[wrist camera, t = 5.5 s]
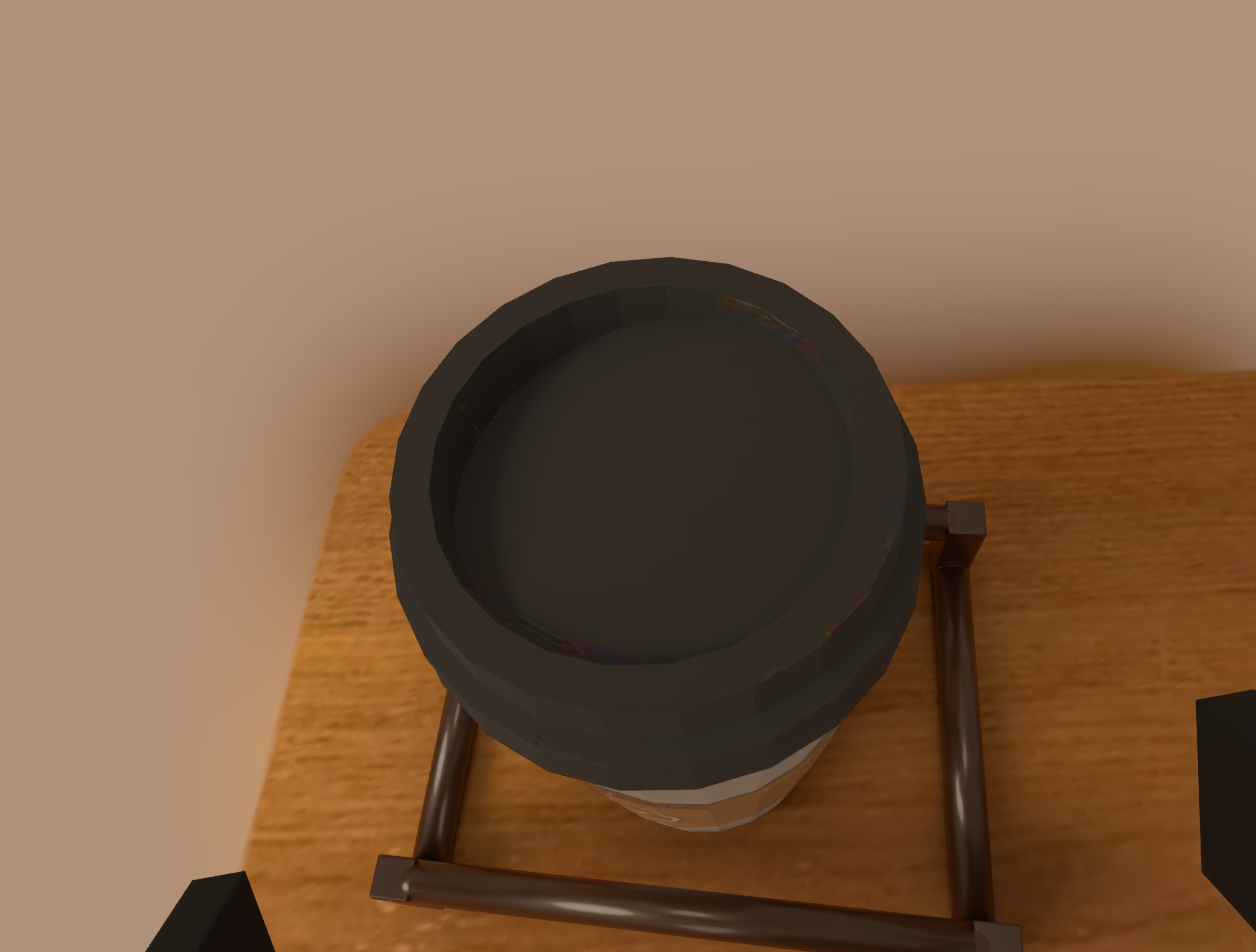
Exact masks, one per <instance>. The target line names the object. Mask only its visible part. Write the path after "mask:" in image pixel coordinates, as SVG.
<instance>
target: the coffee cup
mask: <svg viewBox="0 0 1256 952" xmlns="http://www.w3.org/2000/svg"><path fill="white" fill-rule="evenodd" d="M389 500H390V508H391V515H392V519H391V526H390V532H389V537H390V544H391V552H392V560H393V567H394V575H395V582H396V590H397V597H398V599H399V601H400V603H401V605H402V608H403V610H404V612H405V614H406V616H407V618H408V621H409V623H410V625H411V627H412V629H413V632H414V634H415V636H416V638H417V640H418V643H419V645H420V647H421V649H422V651H423V654H424V656H425V657H426V659H427V660H428V661H429V663H430V664H431V665H432V666H433V667H434V668H435V670H436V672H437V674H438V676H439V678H440V681H441V683H442V684H443V686H444V687H445V688H446V689H447V690H448V691H449V692H450V693H451V695H452V696H453V697H454V698H455V699H456V700H457V701H458V702H459V704H460V705H461V706H462V707H463V708H464V709H465V710H466V711H467V713H468V714H469V715H470V716H471V717H472V718H473V719H474V720H475V722H476V723H477V724H478V725H479V726H480V727H481V728H482V729H483V731H484V732H485V733H486V734H488V735H489V736H491V737H492V738H494V739H496V740H497V741H499V742H501V743H502V744H504V745H505V746H507V747H509V748H510V749H512V750H514V751H515V752H517V753H518V754H520V755H522V756H523V757H525V758H527V759H528V760H530V761H531V762H533V763H535V764H536V765H538V766H540V767H541V768H543V769H544V770H546V771H549V772H552V773H556V774H560V775H563V776H567V777H571V778H574V779H578V780H579V781H581V782H582V783H584V784H586V785H587V786H589V787H591V788H592V789H594V790H596V791H597V792H599V793H601V794H602V795H604V796H606V797H608V798H609V799H611V800H613V801H615V802H616V803H618V804H620V805H621V806H623V807H625V808H627V809H628V810H630V811H632V812H634V813H635V814H637V815H639V816H640V817H642V818H644V819H648V820H652V821H656V822H657V823H660V824H663V825H667V826H670V827H674V828H677V829H681V830H684V831H688V832H710V831H723V830H727V829H730V828H733V827H737V826H740V825H744V824H747V823H750V822H752V821H754V820H755V819H757V818H758V817H760V816H761V815H763V814H765V813H766V812H768V811H769V810H771V809H772V808H774V807H776V806H777V805H778V804H779V803H780V802H781V801H782V800H783V798H784V797H785V796H786V795H787V794H788V793H789V792H790V791H791V790H792V789H793V788H794V787H795V785H796V784H797V783H798V782H799V781H800V780H801V779H802V777H803V776H804V775H805V774H806V773H807V772H808V771H809V770H810V768H811V767H812V766H813V765H814V764H815V762H816V761H817V759H818V758H819V756H820V755H821V753H822V752H823V750H824V749H825V747H826V746H827V744H828V743H829V741H830V740H831V739H832V737H833V736H834V734H835V733H836V731H837V730H838V728H839V726H840V724H841V722H842V720H843V719H844V718H845V717H846V716H847V715H848V714H849V712H850V711H851V710H852V709H853V708H854V707H855V706H856V705H857V703H858V702H859V701H860V700H861V699H862V698H863V697H864V696H865V694H866V693H867V692H868V691H869V690H870V689H871V688H872V687H873V685H874V684H875V683H876V682H877V681H878V680H879V679H880V678H881V676H882V675H883V674H884V673H885V672H886V670H887V668H888V666H889V663H890V661H891V659H892V657H893V655H894V653H895V650H896V648H897V646H898V644H899V642H900V640H901V638H902V635H903V633H904V631H905V629H906V627H907V625H908V623H909V620H910V618H911V616H912V614H913V612H914V610H915V605H916V598H917V590H918V583H919V576H920V568H921V561H922V554H923V547H924V540H923V535H924V528H925V521H926V513H927V505H926V499H925V493H924V487H923V481H922V475H921V470H920V464H919V458H918V452H917V446H916V443H915V441H914V439H913V437H912V435H911V433H910V431H909V429H908V427H907V425H906V423H905V421H904V419H903V417H902V415H901V413H900V411H899V409H898V407H897V405H896V403H895V401H894V399H893V397H892V395H891V393H890V391H889V389H888V387H887V385H886V384H885V382H884V379H883V377H882V375H881V374H880V372H879V370H878V368H877V365H876V363H875V361H874V359H873V357H872V356H871V355H870V354H869V353H868V352H867V351H866V350H865V349H864V348H863V346H862V345H861V344H860V343H859V342H858V341H857V340H856V339H855V338H854V337H853V336H852V335H851V333H850V332H849V331H848V330H847V329H846V328H845V327H844V326H843V325H842V324H841V323H840V322H839V320H838V319H837V318H836V317H835V316H834V315H833V314H831V313H830V312H828V311H827V310H825V309H824V308H822V307H820V306H819V305H817V304H816V303H814V302H813V301H811V300H809V299H808V298H806V297H805V296H803V295H802V294H800V293H798V292H797V291H795V290H794V289H792V288H791V287H789V286H788V285H786V284H784V283H782V282H779V281H776V280H773V279H770V278H767V277H764V276H762V275H759V274H756V273H753V272H750V271H747V270H744V269H741V268H739V267H736V266H733V265H730V264H724V263H715V262H707V261H699V260H691V259H682V258H674V257H665V258H654V259H641V260H629V261H617V262H609V263H606V264H603V265H599V266H595V267H592V268H589V269H585V270H582V271H578V272H575V273H571V274H568V275H564V276H561V277H557V278H554V279H552V280H550V281H548V282H547V283H545V284H543V285H541V286H539V287H537V288H535V289H533V290H531V291H529V292H527V293H525V294H524V295H522V296H519V297H518V298H516V299H514V300H512V301H510V302H508V303H506V304H504V305H502V306H501V307H500V308H499V309H497V310H496V311H495V312H494V313H492V314H491V315H490V316H489V317H488V318H486V319H485V320H484V321H483V322H482V323H480V324H479V325H478V326H477V327H475V328H474V329H473V330H472V331H470V332H469V333H468V334H467V335H466V336H464V337H463V338H462V339H461V340H459V341H458V342H457V343H456V344H455V346H454V347H453V348H452V350H451V351H450V352H449V353H448V355H447V356H446V357H445V359H444V360H443V361H442V362H441V364H440V365H439V366H438V368H437V369H436V370H435V371H434V373H433V374H432V375H431V376H430V378H429V379H428V380H427V382H426V383H425V384H424V385H423V387H422V388H421V390H420V393H419V395H418V397H417V399H416V401H415V404H414V406H413V408H412V410H411V412H410V415H409V417H408V419H407V421H406V424H405V426H404V428H403V430H402V432H401V435H400V437H399V439H398V444H397V450H396V456H395V463H394V469H393V475H392V482H391V488H390V494H389Z"/></svg>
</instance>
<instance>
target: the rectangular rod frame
mask: <svg viewBox="0 0 1256 952" xmlns="http://www.w3.org/2000/svg"><path fill="white" fill-rule="evenodd" d="M926 505H927V513H926V521H925V528H924V535H923V540H931V543H930V545H929V553H930V572H931V575H933V581H934V599H935V618H936V636H937V654H938V672H939V691H940V709H941V727H942V745H943V764H944V782H945V800H946V819H947V837H948V855H949V873H950V892H951V910H952V919H949V918H941V917H932V916H923V915H914V914H905V913H896V912H887V911H878V910H869V909H860V908H851V907H842V906H833V905H824V904H815V903H806V902H797V901H788V900H779V899H770V898H761V897H752V896H743V895H734V894H725V893H716V892H707V891H698V890H689V889H680V888H671V887H662V886H653V885H644V884H635V883H626V882H618V881H609V880H600V879H591V878H582V877H573V876H564V875H555V874H546V873H537V872H528V871H519V870H510V869H501V868H492V867H483V866H474V865H465V864H456V863H449V861H450V856H451V851H452V845H453V840H454V835H455V829H456V824H457V819H458V813H459V808H460V803H461V797H462V792H463V787H464V781H465V776H466V771H467V766H468V760H469V755H470V750H471V744H472V739H473V734H474V728H475V723H476V722H475V720H474V719H473V718H472V717H471V716H470V715H469V714H468V713H467V711H466V710H465V709H464V708H463V707H462V706H461V705H460V704H459V702H458V701H457V700H456V699H455V698H454V697H453V696H452V695H451V693H450V692H449V691H448V690H447V692H446V697H445V702H444V707H443V711H442V716H441V721H440V726H439V731H438V736H437V740H436V745H435V750H434V755H433V760H432V765H431V770H430V774H429V779H428V784H427V789H426V794H425V799H424V803H423V808H422V813H421V818H420V823H419V828H418V832H417V837H416V842H415V847H414V852H413V857H412V858H410V857H401V856H392V855H383V854H381V855H379V856H378V860H377V864H376V868H375V873H374V877H373V882H372V886H371V891H370V898H371V899H376V900H382V901H387V902H393V903H398V904H404V905H410V906H417V907H425V908H433V909H441V910H442V909H444V908H450V909H459V910H467V911H475V912H484V913H492V914H500V915H509V916H517V917H525V918H533V919H542V920H550V921H558V922H567V923H575V924H583V925H592V926H600V927H608V928H616V929H625V930H633V931H641V932H650V933H658V934H666V935H675V936H683V937H691V938H699V939H708V940H716V941H724V942H733V943H741V944H749V945H758V946H766V947H774V948H782V949H791V950H799V951H807V952H1023V943H1022V931H1021V926H1019V925H1013V924H1004V923H996V920H995V907H994V894H993V880H992V867H991V854H990V841H989V827H988V814H987V801H986V787H985V774H984V761H983V748H982V734H981V721H980V708H979V694H978V681H977V668H976V655H975V641H974V628H973V615H972V601H971V588H970V575H969V568H970V566H971V564H972V562H973V560H974V558H975V556H976V554H977V552H978V550H979V548H980V546H981V544H982V542H983V540H984V539H985V537H986V535H987V530H986V519H985V507H984V503H983V502H960V501H947V502H946V504H945V505H938V504H926Z"/></svg>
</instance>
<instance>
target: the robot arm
mask: <svg viewBox="0 0 1256 952" xmlns="http://www.w3.org/2000/svg"><path fill="white" fill-rule="evenodd" d="M1196 720H1197V749H1198V778H1199V807H1200V836H1201V865H1202V873H1203V874H1204V875H1205V876H1206V877H1207V878H1208V880H1209V881H1210V882H1211V883H1212V884H1213V885H1214V886H1215V887H1216V888H1217V889H1218V891H1219V892H1220V893H1221V894H1222V895H1223V896H1224V897H1225V898H1226V899H1227V900H1228V902H1229V903H1230V904H1231V905H1232V906H1233V907H1234V908H1235V909H1236V910H1237V911H1238V913H1239V914H1240V915H1241V916H1242V917H1243V918H1244V919H1245V920H1246V921H1247V923H1248V924H1249V925H1250V926H1251V927H1252V928H1253V929H1254V930H1255V931H1256V690H1248V691H1243V692H1237V693H1232V694H1226V695H1221V696H1215V697H1209V698H1204V699H1198V700H1196ZM145 952H275V950H274V947H273V945H272V942H271V939H270V936H269V934H268V931H267V928H266V926H265V923H264V920H263V918H262V915H261V912H260V910H259V907H258V904H257V902H256V899H255V896H254V894H253V891H252V888H251V886H250V883H249V880H248V878H247V875H246V872H245V871H242V872H236V873H230V874H225V875H219V876H214V877H208V878H203V879H197V880H192V881H191V883H190V885H189V886H188V888H187V889H186V891H185V892H184V894H183V895H182V897H181V898H180V900H179V901H178V903H177V904H176V906H175V908H174V909H173V911H172V912H171V913H170V915H169V916H168V918H167V919H166V921H165V923H164V924H163V926H162V927H161V929H160V930H159V932H158V933H157V935H156V936H155V938H154V939H153V941H152V942H151V944H150V946H149V947H148V948H147V950H146V951H145Z"/></svg>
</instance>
